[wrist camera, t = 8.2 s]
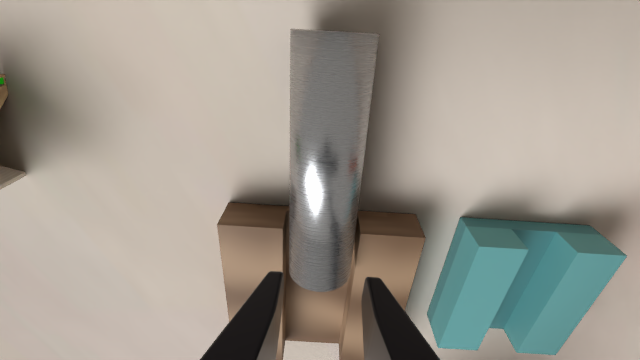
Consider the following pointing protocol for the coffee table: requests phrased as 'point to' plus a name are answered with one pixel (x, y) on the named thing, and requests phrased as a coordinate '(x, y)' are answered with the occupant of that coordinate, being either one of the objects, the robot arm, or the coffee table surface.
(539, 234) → the v block
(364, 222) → the wooden channel block
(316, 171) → the axle
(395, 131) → the coffee table surface
